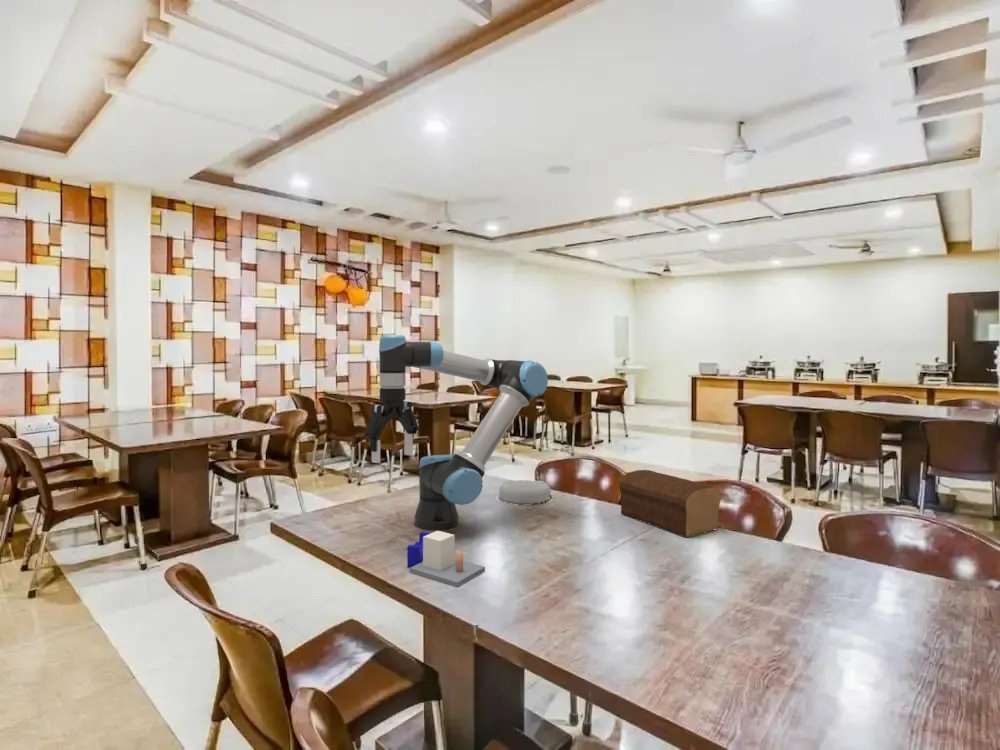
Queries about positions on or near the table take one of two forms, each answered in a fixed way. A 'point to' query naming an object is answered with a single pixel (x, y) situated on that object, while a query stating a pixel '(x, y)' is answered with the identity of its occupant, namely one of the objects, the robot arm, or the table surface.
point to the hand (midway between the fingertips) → (392, 458)
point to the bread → (669, 502)
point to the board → (451, 571)
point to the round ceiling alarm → (524, 491)
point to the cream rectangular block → (438, 550)
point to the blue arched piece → (415, 552)
